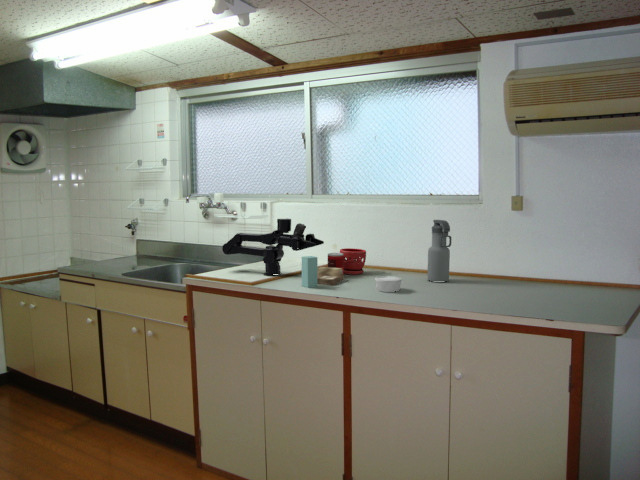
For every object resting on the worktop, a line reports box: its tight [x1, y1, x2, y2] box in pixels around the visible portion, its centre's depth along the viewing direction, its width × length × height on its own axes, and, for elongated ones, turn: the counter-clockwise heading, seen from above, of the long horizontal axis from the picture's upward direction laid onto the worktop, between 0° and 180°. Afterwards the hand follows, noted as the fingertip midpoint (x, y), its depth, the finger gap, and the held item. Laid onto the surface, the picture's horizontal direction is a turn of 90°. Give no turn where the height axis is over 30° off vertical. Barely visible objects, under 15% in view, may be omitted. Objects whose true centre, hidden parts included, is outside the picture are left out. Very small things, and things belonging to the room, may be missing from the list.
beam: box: [317, 266, 342, 276], centre depth 249 cm, size 12×4×3 cm, turn 68°
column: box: [301, 255, 318, 289], centre depth 233 cm, size 5×5×13 cm
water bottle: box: [426, 219, 452, 282], centre depth 245 cm, size 10×10×28 cm
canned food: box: [327, 252, 344, 275], centre depth 257 cm, size 8×8×11 cm
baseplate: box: [317, 274, 345, 286], centre depth 244 cm, size 14×14×3 cm
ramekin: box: [374, 275, 402, 293], centre depth 225 cm, size 11×11×5 cm
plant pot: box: [339, 247, 367, 276], centre depth 265 cm, size 13×13×12 cm
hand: (319, 243), depth 250 cm, fingers open, 9 cm apart
